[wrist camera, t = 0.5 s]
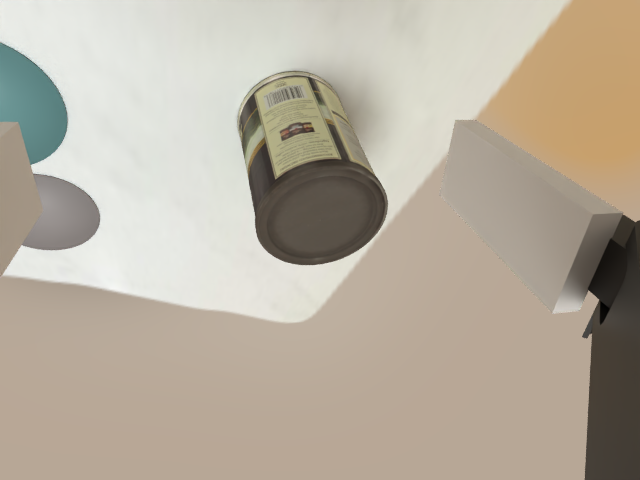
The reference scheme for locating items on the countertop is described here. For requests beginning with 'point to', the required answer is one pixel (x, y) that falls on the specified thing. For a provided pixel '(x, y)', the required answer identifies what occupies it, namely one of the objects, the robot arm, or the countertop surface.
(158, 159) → the countertop surface
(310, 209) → the coffee can
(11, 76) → the disc
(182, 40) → the countertop surface
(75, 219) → the disc
